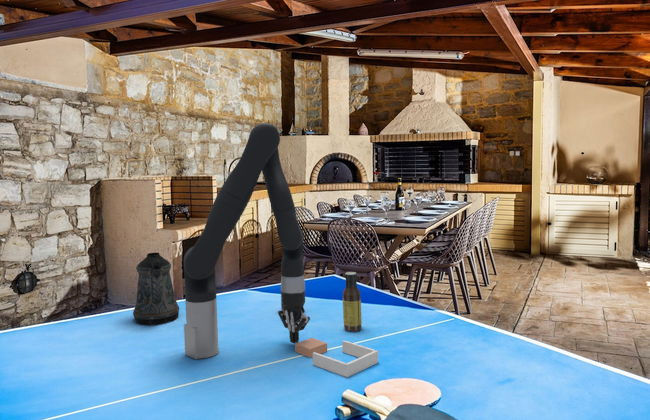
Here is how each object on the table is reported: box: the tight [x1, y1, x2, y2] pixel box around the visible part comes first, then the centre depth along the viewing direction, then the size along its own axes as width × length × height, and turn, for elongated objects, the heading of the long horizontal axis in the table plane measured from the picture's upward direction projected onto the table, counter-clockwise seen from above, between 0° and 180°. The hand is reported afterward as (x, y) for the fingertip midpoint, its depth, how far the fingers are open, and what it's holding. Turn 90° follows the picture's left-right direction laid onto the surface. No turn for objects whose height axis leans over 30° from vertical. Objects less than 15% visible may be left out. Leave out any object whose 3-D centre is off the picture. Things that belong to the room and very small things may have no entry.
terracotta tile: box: [294, 337, 328, 359], centre depth 161 cm, size 7×7×3 cm
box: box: [312, 340, 379, 378], centre depth 151 cm, size 14×13×4 cm
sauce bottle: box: [342, 271, 363, 333], centre depth 180 cm, size 6×6×20 cm
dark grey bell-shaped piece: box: [132, 252, 180, 326], centre depth 194 cm, size 16×19×25 cm
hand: (294, 342), depth 166 cm, fingers closed
